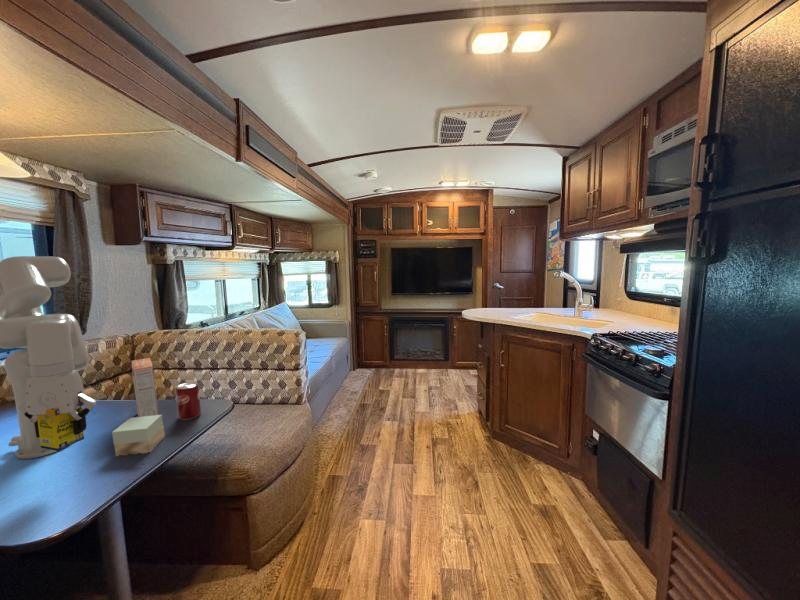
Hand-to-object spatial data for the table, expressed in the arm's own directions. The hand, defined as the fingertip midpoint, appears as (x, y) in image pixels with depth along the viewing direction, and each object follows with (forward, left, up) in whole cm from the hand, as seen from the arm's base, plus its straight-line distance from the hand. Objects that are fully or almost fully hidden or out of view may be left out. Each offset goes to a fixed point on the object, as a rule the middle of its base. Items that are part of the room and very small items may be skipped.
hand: (62, 432), depth 85 cm
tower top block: (+9, +15, -10) cm, 20 cm away
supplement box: (0, 0, -3) cm, 3 cm away
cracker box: (+1, +35, -14) cm, 38 cm away
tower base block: (+9, +15, -14) cm, 22 cm away
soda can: (+16, +33, -14) cm, 39 cm away
